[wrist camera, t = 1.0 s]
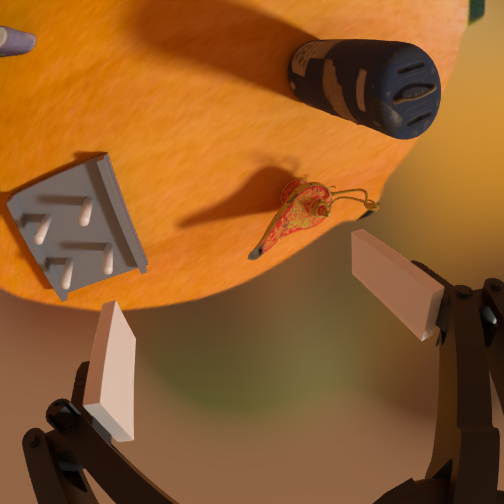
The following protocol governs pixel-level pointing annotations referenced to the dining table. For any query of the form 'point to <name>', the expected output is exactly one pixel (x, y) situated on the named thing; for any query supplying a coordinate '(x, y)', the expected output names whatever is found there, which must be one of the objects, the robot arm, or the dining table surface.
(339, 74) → the canister
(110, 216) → the grey pegged base
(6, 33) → the flask
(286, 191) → the magic lamp
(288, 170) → the dining table surface
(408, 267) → the robot arm
